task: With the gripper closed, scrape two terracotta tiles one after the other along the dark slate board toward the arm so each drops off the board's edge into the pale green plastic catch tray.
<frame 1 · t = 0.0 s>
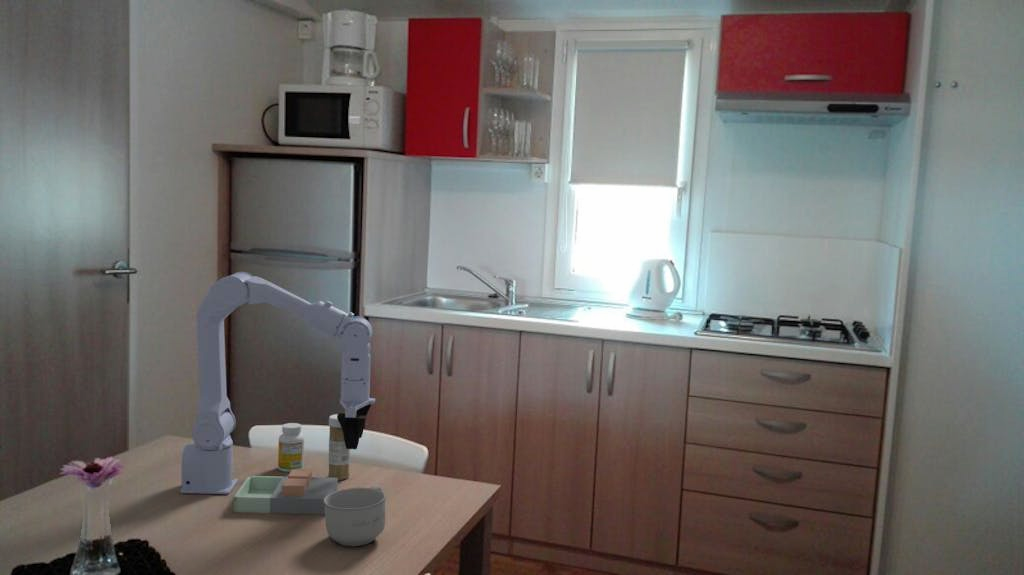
hand: (354, 443, 174), 10 cm above the table, tool pointing down, fingers open, 7 cm apart
catch tray: (258, 501, 167), on the table
supplement bottle: (290, 469, 187), on the table
tile a: (300, 482, 170), point 3 cm above the table, touching slate board
teacup: (359, 537, 152), on the table
tile b: (294, 492, 164), point 3 cm above the table, touching slate board
sprinkles bottle: (338, 478, 183), on the table
slate board: (304, 502, 167), on the table
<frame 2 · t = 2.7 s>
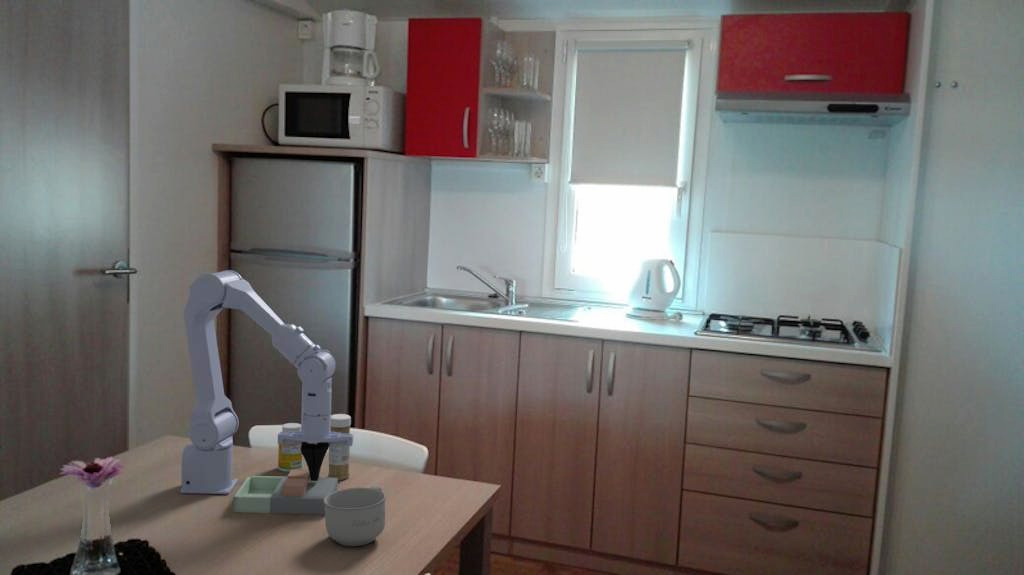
hand: (314, 479, 170), 4 cm above the table, tool pointing down, fingers closed
tile a: (299, 482, 170), point 3 cm above the table, touching gripper
everything else where it was.
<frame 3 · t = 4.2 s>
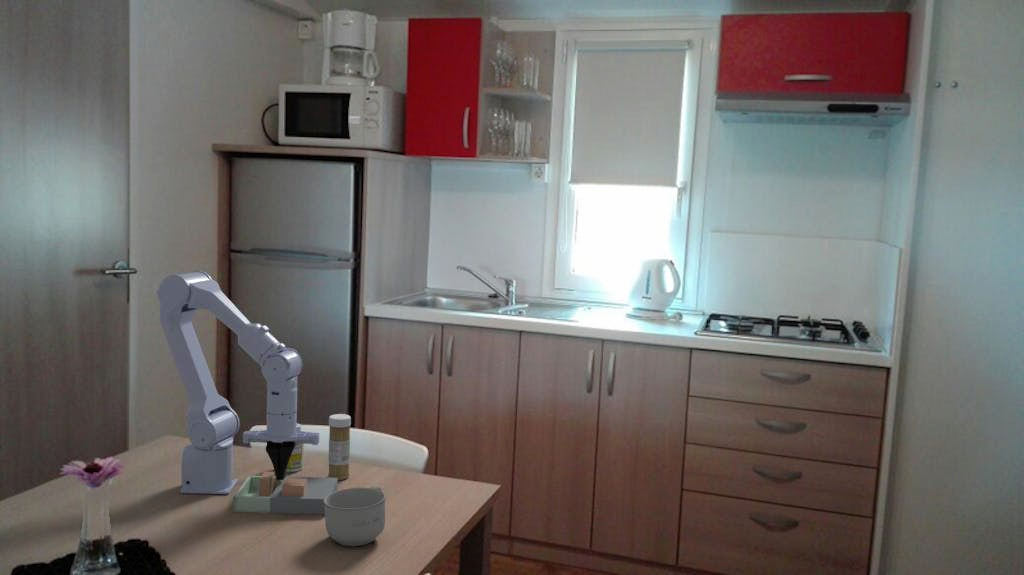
hand: (280, 478, 169), 4 cm above the table, tool pointing down, fingers closed
tile a: (272, 484, 169), point 2 cm above the table, tilted 90°, touching catch tray
everything else where it was.
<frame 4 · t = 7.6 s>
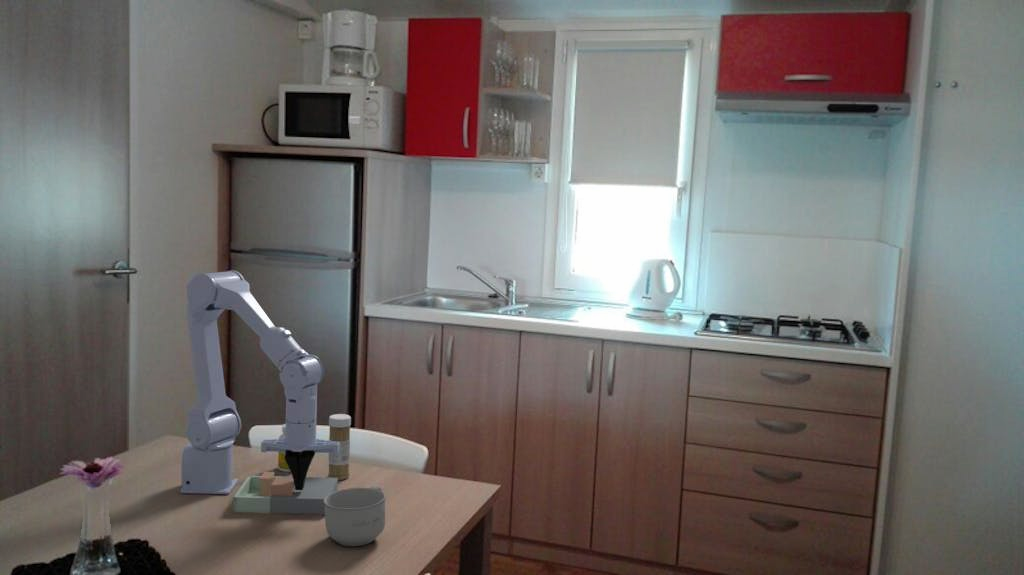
hand: (299, 488, 164), 4 cm above the table, tool pointing down, fingers closed
tile b: (283, 491, 164), point 3 cm above the table
everything else where it was.
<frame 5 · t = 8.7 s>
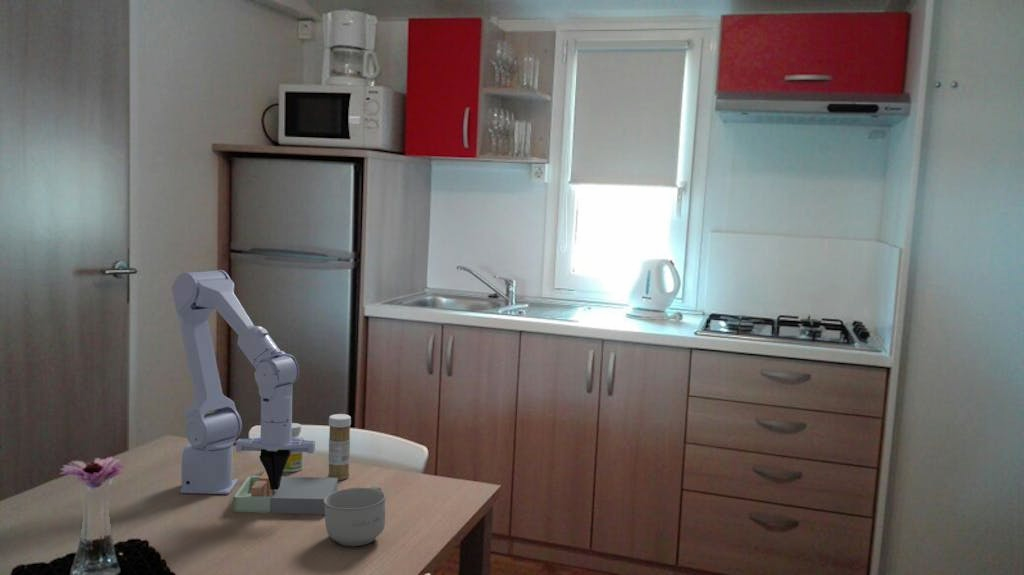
hand: (275, 487, 164), 4 cm above the table, tool pointing down, fingers closed
tile b: (264, 494, 164), point 2 cm above the table, tilted 90°, touching catch tray
everything else where it was.
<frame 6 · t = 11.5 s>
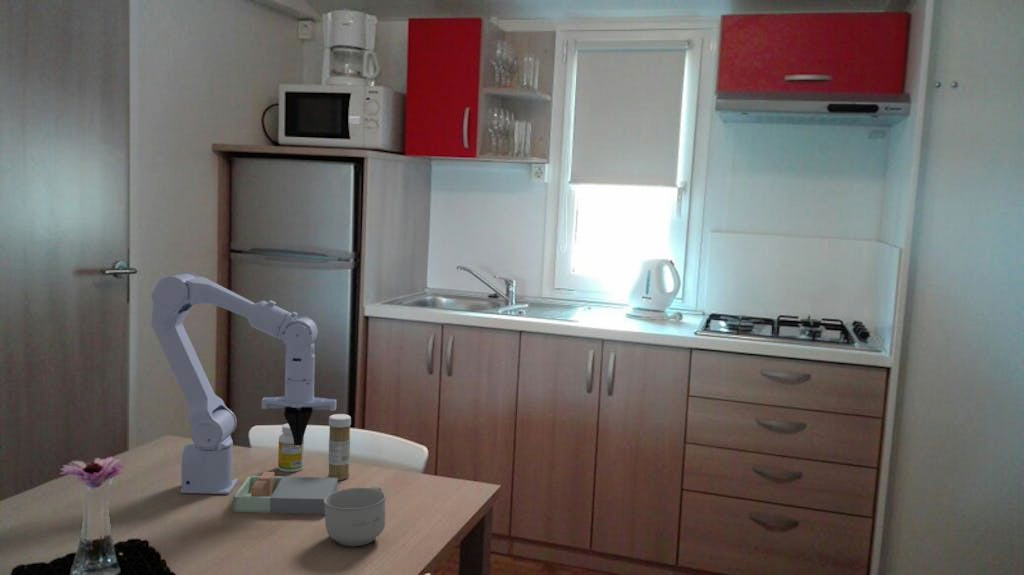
hand: (298, 443, 172), 10 cm above the table, tool pointing down, fingers closed
nothing on the table moved.
at the end: tile a inside the target area (3.4 cm from its centre), point 2.4 cm above the table; tile b inside the target area (3.2 cm from its centre), point 2.4 cm above the table; tile a touching catch tray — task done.
